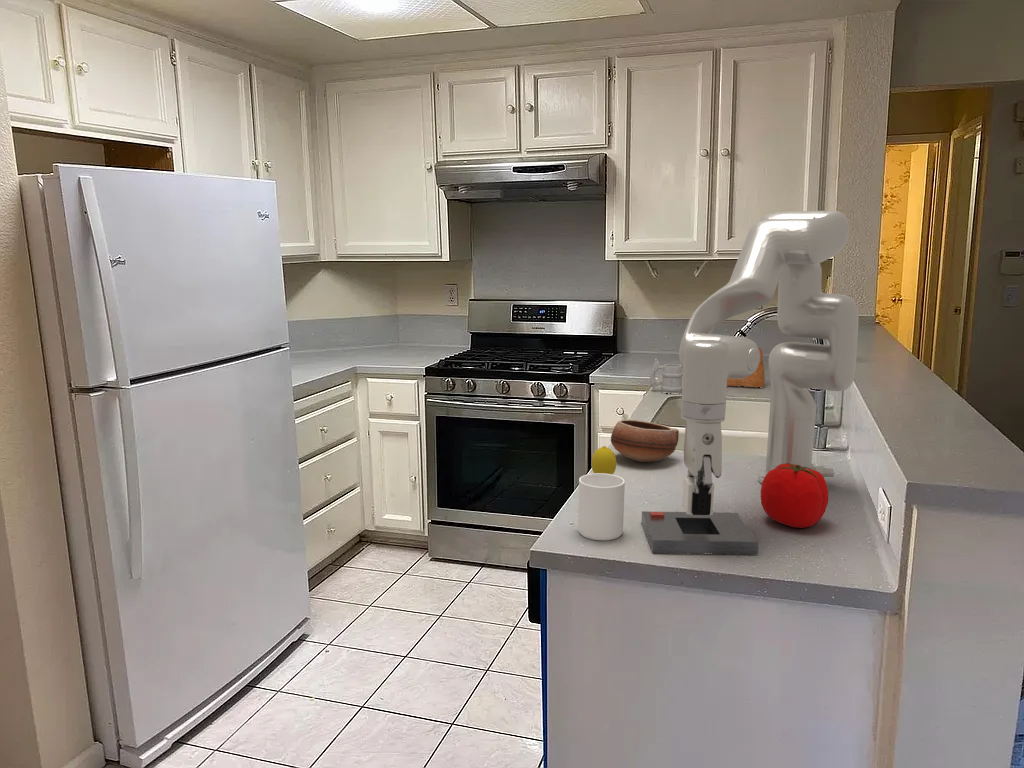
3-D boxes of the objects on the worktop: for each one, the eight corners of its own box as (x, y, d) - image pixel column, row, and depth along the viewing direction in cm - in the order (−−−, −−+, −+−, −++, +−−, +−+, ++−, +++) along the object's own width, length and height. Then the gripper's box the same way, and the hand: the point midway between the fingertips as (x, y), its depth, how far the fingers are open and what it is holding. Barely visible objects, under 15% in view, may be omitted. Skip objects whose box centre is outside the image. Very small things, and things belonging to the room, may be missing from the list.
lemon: (599, 475, 173) (600, 441, 172) (620, 479, 170) (621, 445, 168) (586, 480, 169) (587, 446, 167) (607, 485, 166) (608, 450, 164)
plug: (706, 506, 138) (709, 466, 136) (712, 515, 133) (714, 474, 132) (682, 505, 138) (684, 466, 136) (686, 514, 133) (689, 473, 132)
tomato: (774, 536, 138) (779, 475, 136) (747, 510, 151) (750, 455, 149) (839, 534, 139) (844, 474, 136) (806, 509, 152) (810, 454, 150)
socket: (736, 524, 143) (737, 509, 143) (757, 555, 129) (758, 538, 129) (641, 523, 144) (641, 508, 143) (652, 553, 130) (653, 536, 129)
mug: (682, 395, 264) (684, 361, 261) (648, 393, 266) (649, 360, 264) (682, 390, 271) (684, 358, 269) (649, 389, 273) (650, 356, 271)
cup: (576, 539, 136) (577, 485, 134) (580, 516, 147) (581, 466, 146) (622, 542, 135) (624, 488, 133) (623, 518, 146) (625, 468, 144)
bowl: (688, 462, 183) (690, 422, 182) (645, 474, 174) (646, 432, 172) (640, 448, 196) (641, 411, 194) (597, 459, 186) (598, 419, 184)
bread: (692, 379, 295) (694, 340, 292) (764, 383, 287) (766, 344, 284) (689, 385, 282) (691, 345, 279) (764, 389, 274) (767, 348, 271)
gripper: (737, 421, 124) (730, 527, 127) (713, 400, 140) (708, 494, 144) (691, 421, 124) (685, 526, 127) (673, 400, 140) (668, 493, 144)
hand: (697, 508), depth 135 cm, fingers closed on plug, 4 cm apart
